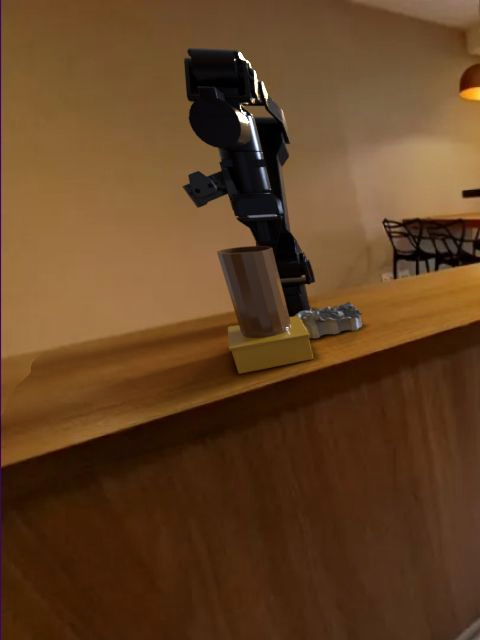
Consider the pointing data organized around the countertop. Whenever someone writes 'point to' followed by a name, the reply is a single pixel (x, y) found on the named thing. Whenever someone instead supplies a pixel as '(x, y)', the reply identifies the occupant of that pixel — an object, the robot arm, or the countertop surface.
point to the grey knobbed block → (331, 320)
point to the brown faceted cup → (255, 290)
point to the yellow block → (270, 348)
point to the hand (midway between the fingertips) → (268, 258)
